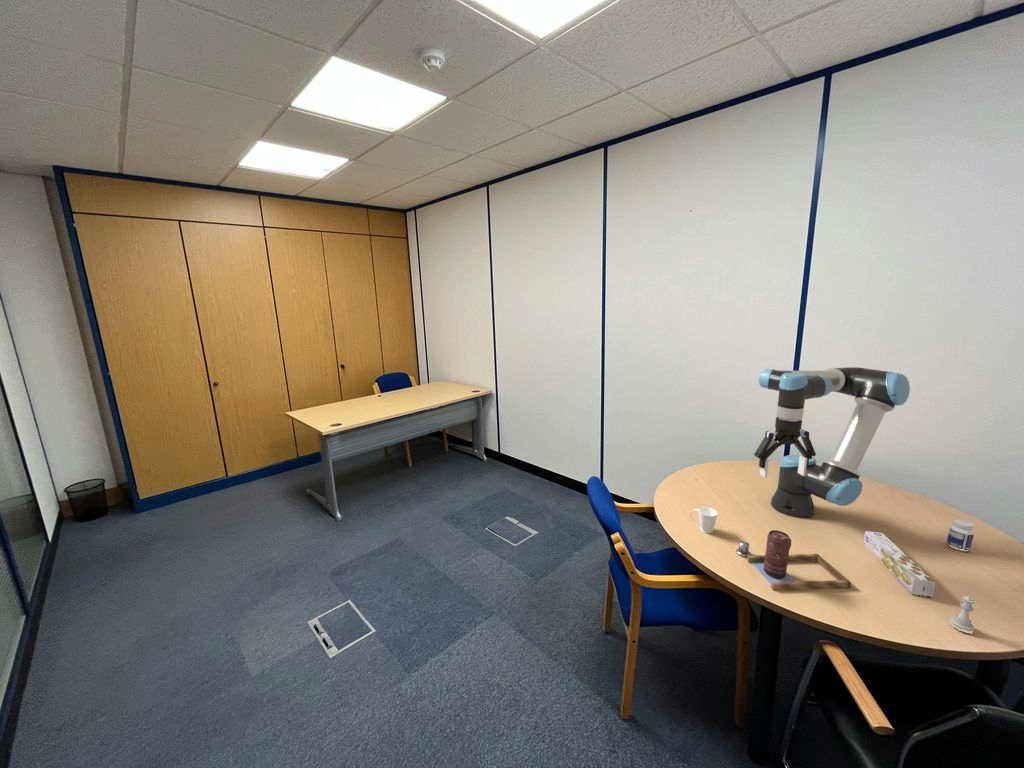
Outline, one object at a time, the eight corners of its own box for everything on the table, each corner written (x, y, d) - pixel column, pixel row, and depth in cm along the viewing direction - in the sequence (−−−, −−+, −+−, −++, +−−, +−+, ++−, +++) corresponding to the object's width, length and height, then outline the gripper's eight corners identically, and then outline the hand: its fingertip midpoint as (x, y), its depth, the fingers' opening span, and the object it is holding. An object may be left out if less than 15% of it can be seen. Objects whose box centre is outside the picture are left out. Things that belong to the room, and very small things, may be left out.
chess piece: (974, 637, 107) (983, 605, 104) (950, 628, 110) (958, 597, 107) (972, 627, 110) (980, 595, 108) (948, 619, 113) (956, 588, 111)
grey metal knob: (745, 549, 145) (747, 539, 144) (753, 557, 141) (754, 547, 140) (733, 549, 145) (734, 540, 144) (740, 557, 141) (741, 547, 140)
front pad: (775, 562, 138) (775, 561, 137) (798, 586, 127) (798, 584, 127) (752, 563, 138) (752, 562, 137) (773, 586, 127) (773, 585, 127)
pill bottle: (962, 544, 145) (968, 519, 142) (974, 554, 139) (980, 528, 137) (942, 541, 146) (947, 516, 144) (952, 551, 141) (958, 525, 139)
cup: (711, 537, 152) (713, 518, 151) (685, 526, 160) (687, 508, 158) (719, 530, 157) (721, 511, 155) (694, 520, 164) (695, 502, 163)
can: (786, 582, 128) (792, 542, 125) (763, 575, 131) (768, 536, 128) (786, 571, 133) (791, 533, 130) (763, 564, 136) (768, 527, 133)
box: (862, 543, 147) (865, 529, 146) (880, 545, 146) (882, 531, 145) (911, 596, 122) (914, 580, 120) (933, 599, 120) (937, 583, 119)
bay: (816, 559, 139) (817, 553, 138) (850, 587, 125) (851, 582, 125) (747, 561, 139) (747, 555, 138) (772, 590, 125) (773, 584, 125)
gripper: (816, 413, 143) (809, 469, 147) (746, 416, 142) (741, 472, 147) (833, 419, 135) (825, 478, 140) (759, 423, 135) (753, 481, 140)
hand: (782, 475), depth 144 cm, fingers open, 13 cm apart
